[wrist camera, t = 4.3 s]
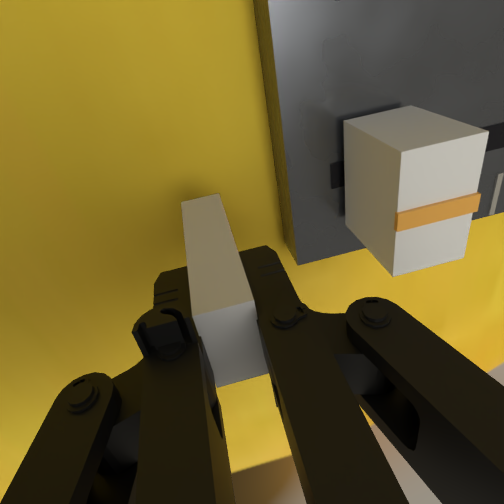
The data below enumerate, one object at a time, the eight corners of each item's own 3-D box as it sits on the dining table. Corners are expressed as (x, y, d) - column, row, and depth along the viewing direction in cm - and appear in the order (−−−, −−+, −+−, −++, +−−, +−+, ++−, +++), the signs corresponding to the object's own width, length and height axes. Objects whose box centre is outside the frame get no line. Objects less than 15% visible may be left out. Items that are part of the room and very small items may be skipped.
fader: (344, 224, 18) (393, 279, 14) (342, 120, 15) (402, 153, 11) (403, 210, 18) (467, 259, 14) (412, 105, 15) (494, 131, 11)
